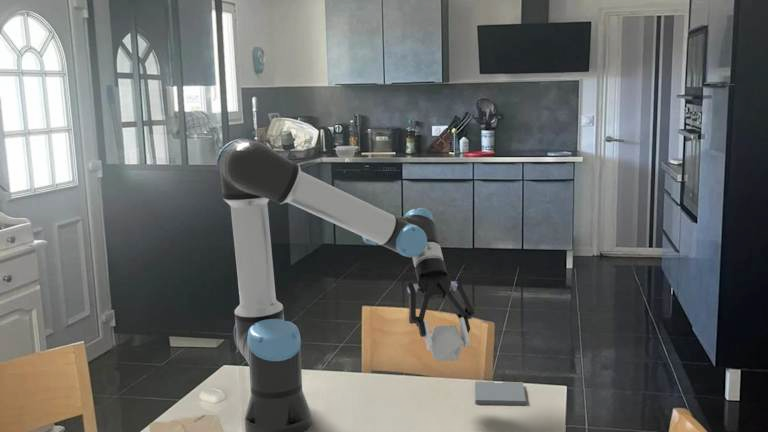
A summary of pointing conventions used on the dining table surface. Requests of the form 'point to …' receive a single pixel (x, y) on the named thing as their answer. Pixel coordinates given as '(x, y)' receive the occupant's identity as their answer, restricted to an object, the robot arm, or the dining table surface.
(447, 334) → the die
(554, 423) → the dining table surface
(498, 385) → the slate board
